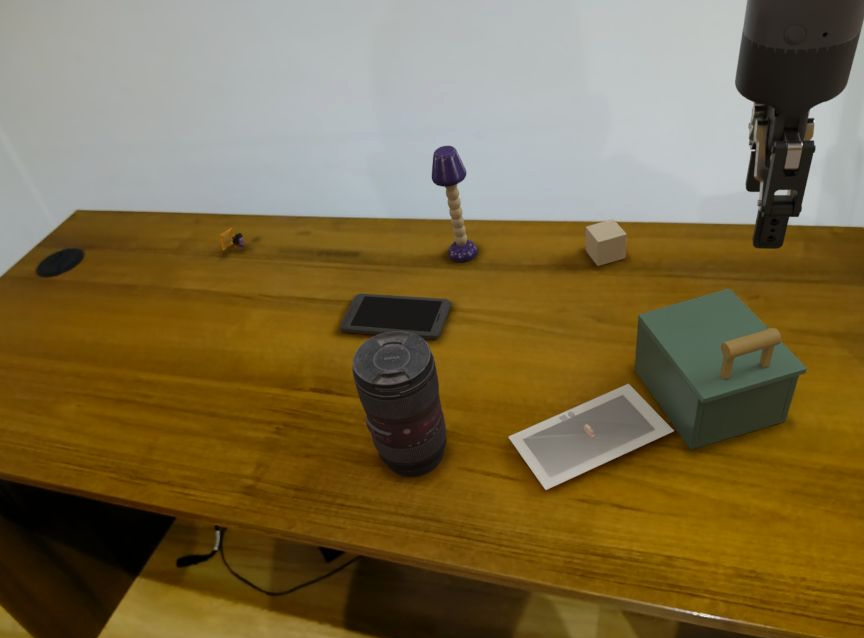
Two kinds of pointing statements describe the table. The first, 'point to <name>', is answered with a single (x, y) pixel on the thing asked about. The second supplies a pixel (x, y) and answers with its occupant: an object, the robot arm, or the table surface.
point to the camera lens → (401, 401)
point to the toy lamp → (453, 199)
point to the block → (605, 242)
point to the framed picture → (232, 239)
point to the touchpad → (589, 435)
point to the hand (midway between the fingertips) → (762, 216)
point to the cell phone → (396, 315)
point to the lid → (720, 345)
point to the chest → (713, 417)
